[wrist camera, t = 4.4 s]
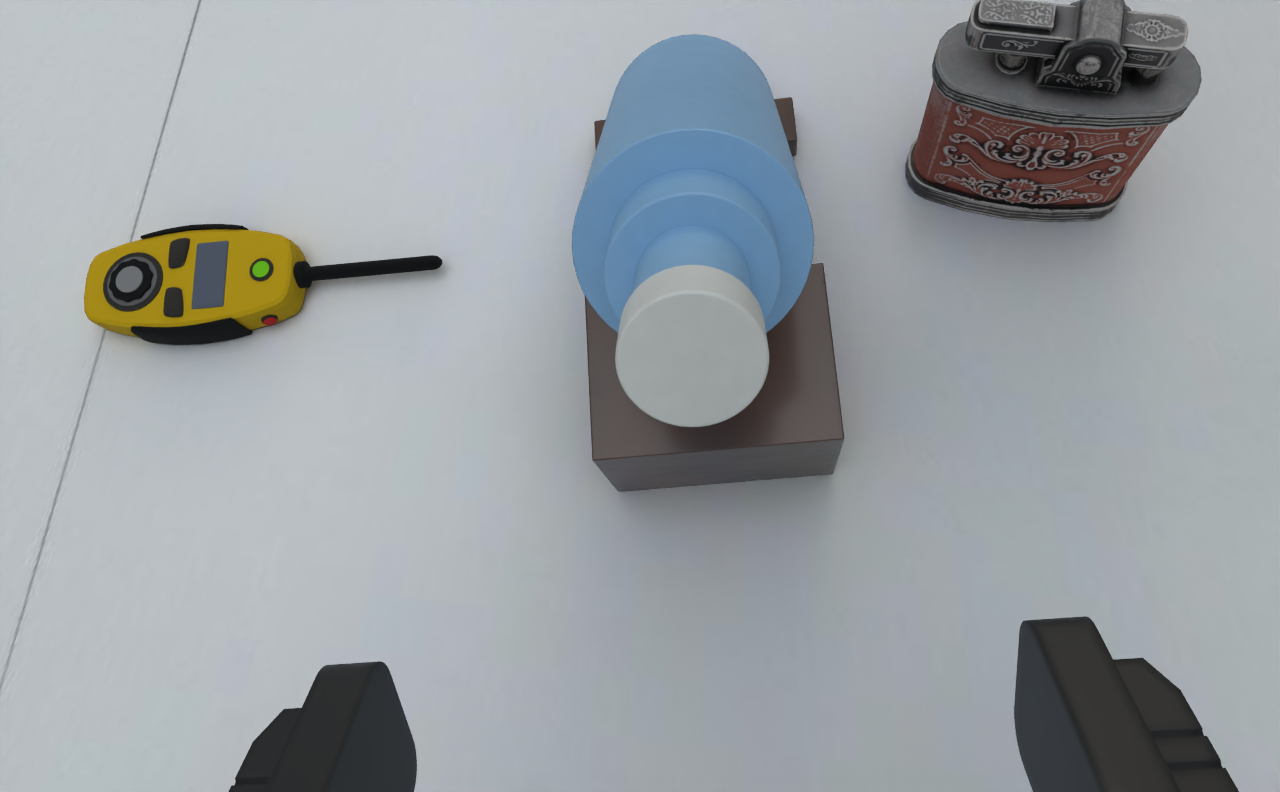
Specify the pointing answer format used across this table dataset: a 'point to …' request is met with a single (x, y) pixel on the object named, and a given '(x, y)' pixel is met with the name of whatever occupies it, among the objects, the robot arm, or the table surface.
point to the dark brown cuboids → (752, 439)
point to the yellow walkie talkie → (210, 283)
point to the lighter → (1048, 107)
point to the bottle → (692, 229)
